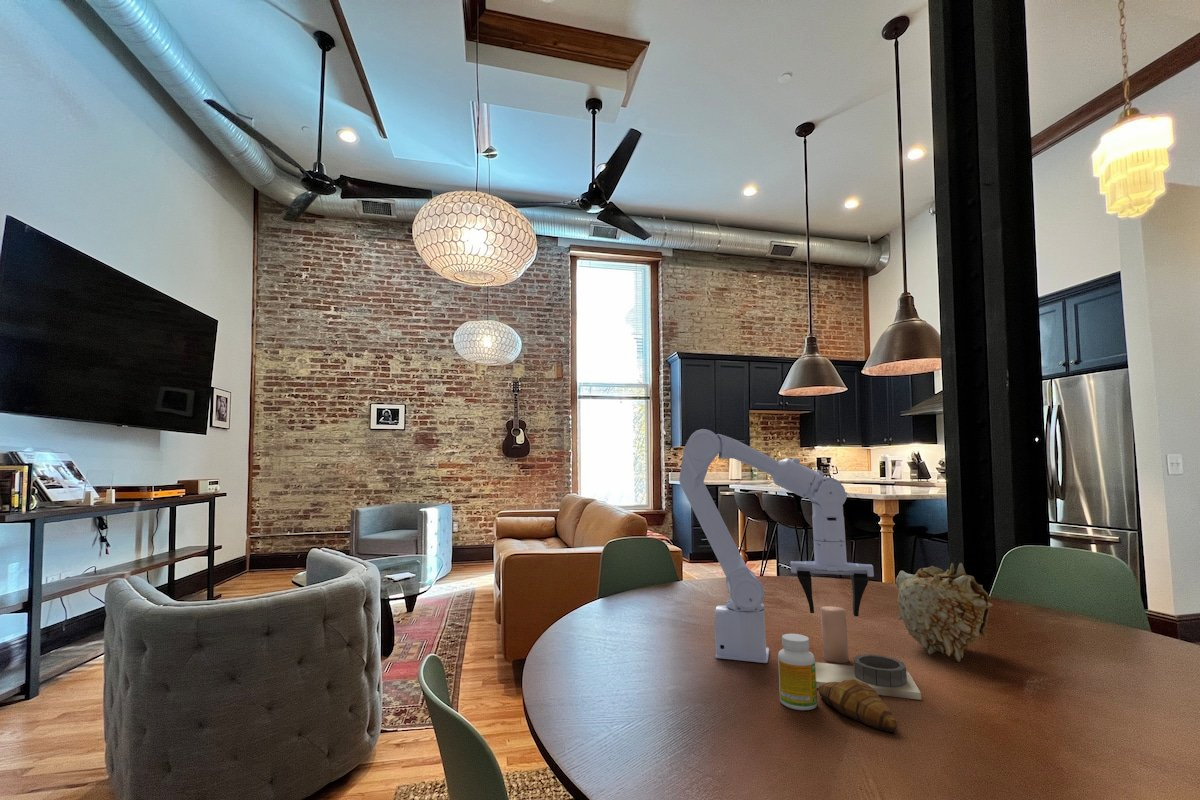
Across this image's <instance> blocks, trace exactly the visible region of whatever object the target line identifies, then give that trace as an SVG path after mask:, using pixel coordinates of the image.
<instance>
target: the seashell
mask: <svg viewBox="0 0 1200 800" xmlns="http://www.w3.org/2000/svg"><path fill="white" fill-rule="evenodd" d="M895 584H896V587H897V589H898V590H897V591H898V593H897V600H896V603H897V604H898V607H899V611H900V613H899V615H898V617H897V620H899V621H900V620H902V621H903V624H904V626H905V628H906V630H907V631H908V634H909V635H910V636H911V637H912V638H913V639H914V640H915V641H916V642H917V643H918V644H919V645H921V646H922V647H924V648H925V649H926V650H927V653H928V655H932V654H934V653H935V652H941V654H944V653H945V654H946V655H947V656H948V657H951V655H952V654H953V657H954V658H955V660H956V662H958V663H960V662H961V660H962V659H963V657H964V650H965V648H967V647H968V646H970V645H971V644H972V643H974V642H975V641H976V640H977V639H978V637H979V636H981V637H985V638H988V635H987V633H986V629H987V628H988V619H989V615H990V609H991V607H992V606H994V604H993V603H992V602H991V600H992V597H991V596H989V594H988V592H987V591H986V590H985V589H984V588H983V584H979V583H978V582H977V581H976V579H975V577H974V576H973V575H969V574H967V573H966V570H965V568H964V565H963V563H962V562H959V564H958V566H957V569H956V570H955V565H954V563H953V562H951V564H950V567H949V568H947V570H943V569H941V568H939V567H937V566H934V565H930V566H929V567H921V568H919V569H917V571H916V573H915V574H911V573H907V572H905V571H904V570H900V571H899V572H898V575H897V576H896V578H895Z"/></svg>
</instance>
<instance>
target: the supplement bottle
mask: <svg viewBox="0 0 1200 800" xmlns="http://www.w3.org/2000/svg"><path fill="white" fill-rule="evenodd" d="M781 645H782V647H783V648H782V649H780V650H779V651H778V654H777V661H778V662H777V664H778V683H779V684H778V688H779V701H780V703H781V704H782V705H784V706H785V707H787V708H789V709H792V710H796V711H811V710H814V709H816V708H817V706H818V695H817V693H818V692H817V688H816V670H815V662H816V659H815V655H814V654H813V653H812V652H811V651H809V649H810V639H809V637H808V636H805V635H803V634H799V633H785V634H782V635H781Z"/></svg>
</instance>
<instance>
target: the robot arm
mask: <svg viewBox="0 0 1200 800" xmlns="http://www.w3.org/2000/svg"><path fill="white" fill-rule="evenodd" d="M716 457H717V458H718V460H719V459H721V460H722V459H727V460H730V459H733V460H737V461H739V462H741V463H743V464H745V465H748V466H750V467H752V468H754V469H757V470H759V471H762V472H764V473H766V474H769V476H771V477H772V480H773V482H774V485H776V486H778V487H780V488H782V489H785V490H786V491H789V492H791V493H793V494H795V495H797V496H800V497H801V498H803V499H809V501H810V502H811V505H812V515H811V518H812V521H811V522H812V536H813V537H812V538H813V555H814V556H813V558H814V560H812V561H811V560H805V561H803V560H802V561H801V560H799V561H796V560H794V561H793V560H791V561H790V573H791V574H796V576H797V579H798V581H799V583H800V585H801V587H802V590H803V592H804V595H805V597H806V600H807V602H808V608H809V613H810V614H815V607H814V606H815V605H814V600H813V586H812V585H813V584H812V574H818V575H819V574H820V575H821V574H822V575H823V574H825V575H844V576H850V577H851V589H852V613H853V616H854V617H859V614H860V605H861V602H862V598H863V595H864V592H865V590H866V588H867V586H868V583H869V578H868V577H871V578H874V576H875V573H874V572H875V571H874V566H873V564H868V563H866V564H865V563H854V562H848V561H847V545H846V529H845V516H844V506H843V505H844V504H845V502H846V500H847V498H848V492H847V491H846V490H845V487H844V485H843V484H842V482H841V481H839V480H838V479H836V478H833V477H827V476H824V475H823V474H824V471H822V470H819V469H817V470H814V469H811V468H810V467H807V466H806V465H803V464H802V463H801V460H800V459H798V458H795V457H794V458H792V459H791V458H788V457H786V458H783V459H780V460H777V459H775V458H773V457H770V456H769V455H767V454H765V453H762V452H761V451H759V450H758V449H755V448H753V447H751V446H749V445H747V444H745V443H743V442H741V441H739V440H737V439H736V438H735V439H734V438H733V437H731V436H730V437H729V436H727V435H724V434H720V433H717V434H716V433H715V432H713V431H712V430H710V429H704V428H701V429H698V430H695V431H694V432H693V433H691V435H690V436H689V437H688V440H687V442H686V443H685V445H684V448H683V452H682V458H681V459H682V460H681V464H680V471H679V477H678V479H679V480H678V482H679V485H680V486H681V489H682V490H683V491H682V492H684V495H685V496H686V499H687V501H688V502H689V504H690V506H691V509H692V511H693V513H694V515H695V517H696V518H697V521H698V523H699V525H700V527H701V528H702V531H703V533H704V534H705V537H706V539H707V541H708V543H709V546H711V549H712V551H713V552H714V555H715V557H716V559H717V561H718V563H719V565H720V566H721V568H722V571H723V573H724V576H725V584H726V589H727V591H728V593H729V597H728V599H727V601H726V602H725V604H724V605H722V604H720V605H716V607H715V611H714V643H715V654H714V655H715V658H716V659H724V660H730V661H731V660H733V661H742V662H752V663H753V662H754V663H763V664H767V663H769V656H770V648H769V647H768V646H767V640H766V639H767V637H766V636H767V635H766V615H765V613H766V612H765V604H764V603H763V602H764V599H765V588H764V586H763V584H762V583H761V581H760V580H759V579H758V578H757V576H756V574H755V573H754V572H753V571H752V570H751V569H750V568H748V566H747V564H746V562H745V560H744V558H743V557H742V555H741V553H740V551H739V549H738V547H737V544H736V543H735V541H734V539H733V537H732V535H731V533H730V530H729V529H728V527H727V525H726V524H725V521H724V519H723V518H722V515H721V513H720V511H719V509H718V508H717V505H716V504H715V502H714V500H713V496H711V494H710V492H709V489H708V488H707V486H706V484H705V478H706V476H707V473H708V471H709V467H710V465H711V464H712V463H713V462H714V460H715V459H716Z"/></svg>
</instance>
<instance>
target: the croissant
mask: <svg viewBox="0 0 1200 800" xmlns="http://www.w3.org/2000/svg"><path fill="white" fill-rule="evenodd" d="M818 694H819V696H820V697H821V699H822V700H823V701H824V702H825V703H826V704H828V705H829V706H830V707H833V708H834V709H835V710H836V711H838V712H839V713H840V714H842V715H843V716H845V717H847V718H850V719H853V720H856V721H858V722H860V723H862V724H864V725H866V726H869V727H872V728H874V729H876V730H881V731H885V732H890V733H894V732H895V731H897V729H898V722H897V721H896V720H897V719H896V717H895V716H894V714H893V713H892V711H891V709H890V708H889V707H888V706H887V704H886V703H885V702H884V701H883V700H882V699H881V697H880V696H879V695H877V693H876V691H875V689H873V688H872V687H871V686H869V685H868V684H865V683H863V682H860V681H857V680H855V679H852V680H844V681H842V682H827V683H825V684H822V685H820V686H819V688H818Z"/></svg>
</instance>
